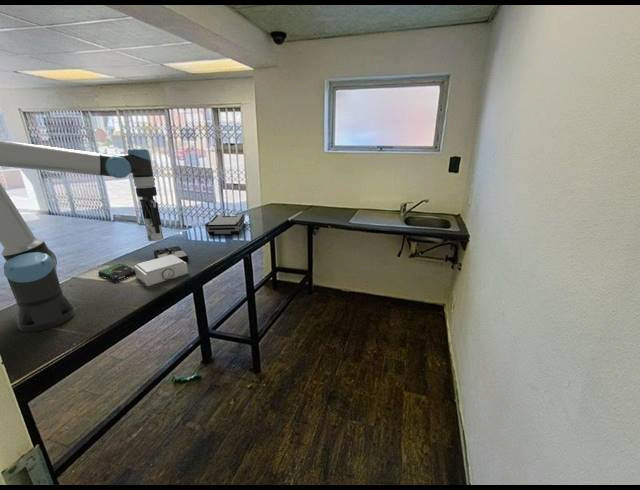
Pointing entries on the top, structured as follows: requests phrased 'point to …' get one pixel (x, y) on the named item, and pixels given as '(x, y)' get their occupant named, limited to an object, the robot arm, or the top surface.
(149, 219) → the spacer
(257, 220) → the top surface
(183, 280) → the top surface
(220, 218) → the game console
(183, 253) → the multimeter
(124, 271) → the disk drive
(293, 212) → the top surface
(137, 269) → the scale
